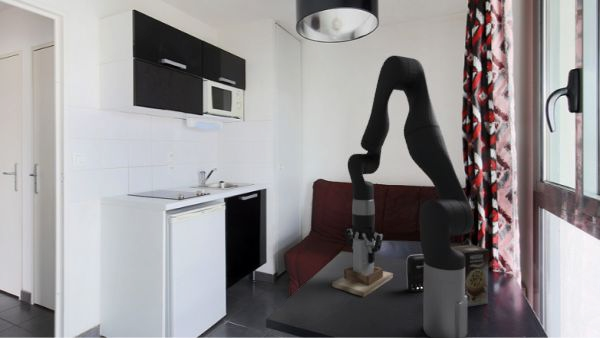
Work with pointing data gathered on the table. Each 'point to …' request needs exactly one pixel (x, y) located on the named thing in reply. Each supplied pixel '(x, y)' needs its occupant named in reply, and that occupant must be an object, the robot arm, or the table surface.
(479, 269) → the coffee box
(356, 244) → the skincare box
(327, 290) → the table surface
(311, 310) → the table surface
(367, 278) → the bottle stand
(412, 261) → the battery charger
